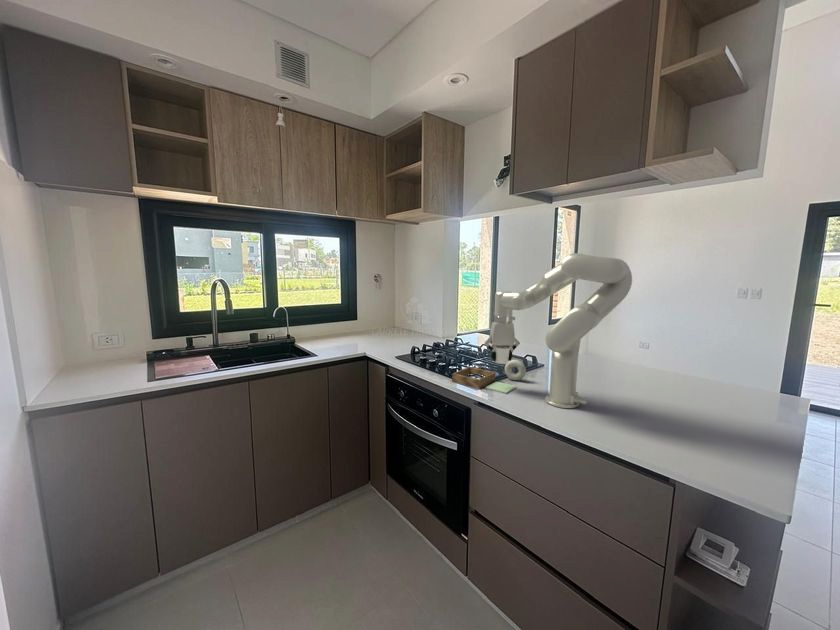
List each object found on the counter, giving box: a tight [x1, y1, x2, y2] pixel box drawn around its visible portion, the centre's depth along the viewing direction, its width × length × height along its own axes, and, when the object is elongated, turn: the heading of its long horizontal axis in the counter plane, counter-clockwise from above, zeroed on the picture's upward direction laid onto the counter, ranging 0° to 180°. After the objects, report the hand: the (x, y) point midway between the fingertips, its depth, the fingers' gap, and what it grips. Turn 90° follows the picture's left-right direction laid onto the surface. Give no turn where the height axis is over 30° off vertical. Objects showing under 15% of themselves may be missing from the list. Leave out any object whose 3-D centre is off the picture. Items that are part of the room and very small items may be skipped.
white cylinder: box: [494, 346, 510, 365], centre depth 148 cm, size 7×7×7 cm
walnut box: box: [451, 366, 496, 390], centre depth 159 cm, size 15×15×4 cm
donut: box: [504, 359, 527, 381], centre depth 160 cm, size 10×4×10 cm, turn 58°
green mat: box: [484, 381, 517, 395], centre depth 150 cm, size 10×10×1 cm
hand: (501, 359), depth 148 cm, fingers closed on white cylinder, 6 cm apart
